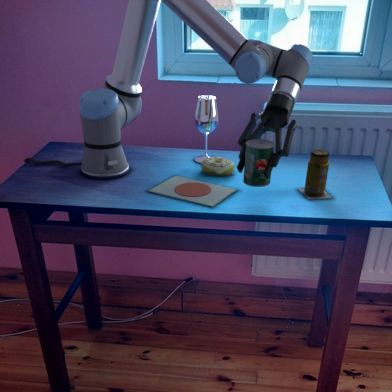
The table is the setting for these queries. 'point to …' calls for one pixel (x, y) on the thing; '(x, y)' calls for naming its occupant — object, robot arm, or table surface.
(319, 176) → the condiment
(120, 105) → the robot arm
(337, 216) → the table surface
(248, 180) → the canned tomato
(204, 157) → the wineglass
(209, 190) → the placemat
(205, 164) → the decorated donut
